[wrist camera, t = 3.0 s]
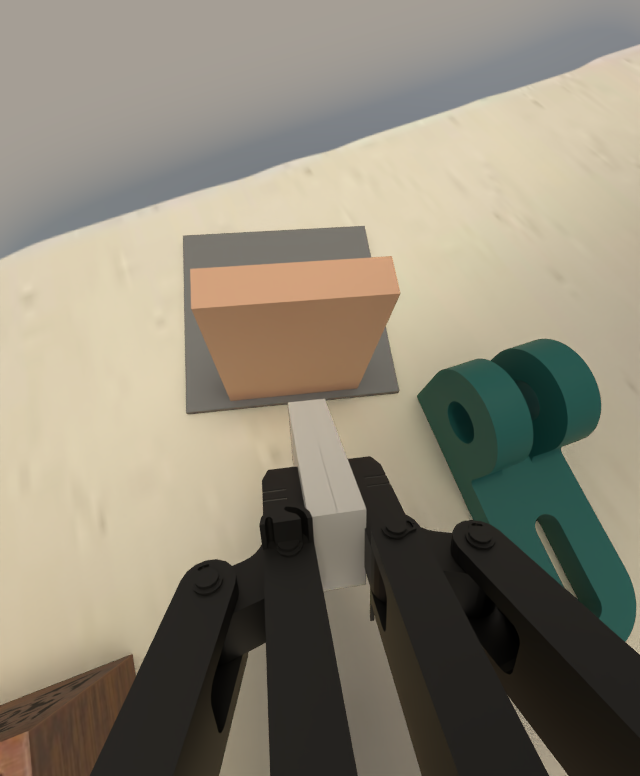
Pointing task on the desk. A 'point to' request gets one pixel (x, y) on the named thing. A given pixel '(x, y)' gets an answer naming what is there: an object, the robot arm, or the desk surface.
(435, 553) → the robot arm
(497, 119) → the desk surface
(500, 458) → the bracket
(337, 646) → the desk surface
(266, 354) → the tile
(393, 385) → the mat
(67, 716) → the tissue box cover
